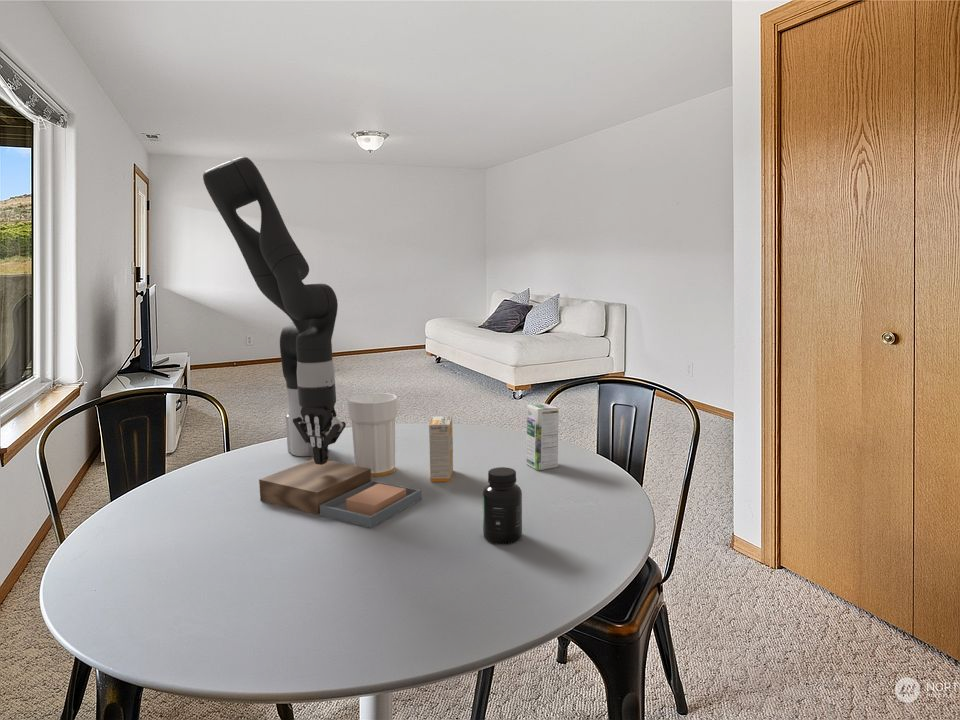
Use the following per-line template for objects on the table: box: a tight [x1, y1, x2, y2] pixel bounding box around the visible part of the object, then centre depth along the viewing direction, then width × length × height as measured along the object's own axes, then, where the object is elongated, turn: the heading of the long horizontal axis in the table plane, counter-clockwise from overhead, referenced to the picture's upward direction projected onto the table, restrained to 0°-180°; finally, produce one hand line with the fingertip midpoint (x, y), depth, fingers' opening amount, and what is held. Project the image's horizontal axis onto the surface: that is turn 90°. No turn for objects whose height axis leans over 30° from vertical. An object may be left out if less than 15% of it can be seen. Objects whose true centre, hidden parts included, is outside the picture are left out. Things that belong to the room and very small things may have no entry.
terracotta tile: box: [346, 483, 406, 516], centre depth 126 cm, size 7×10×2 cm
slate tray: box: [319, 479, 422, 529], centre depth 127 cm, size 12×16×2 cm
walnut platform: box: [258, 458, 372, 516], centre depth 134 cm, size 16×16×4 cm
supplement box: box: [428, 415, 454, 483], centre depth 143 cm, size 8×5×13 cm, turn 179°
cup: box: [346, 392, 398, 478], centre depth 148 cm, size 11×11×17 cm
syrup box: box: [525, 403, 560, 471], centre depth 150 cm, size 6×6×14 cm
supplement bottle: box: [482, 466, 523, 545], centre depth 111 cm, size 7×7×12 cm
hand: (321, 463), depth 133 cm, fingers closed
